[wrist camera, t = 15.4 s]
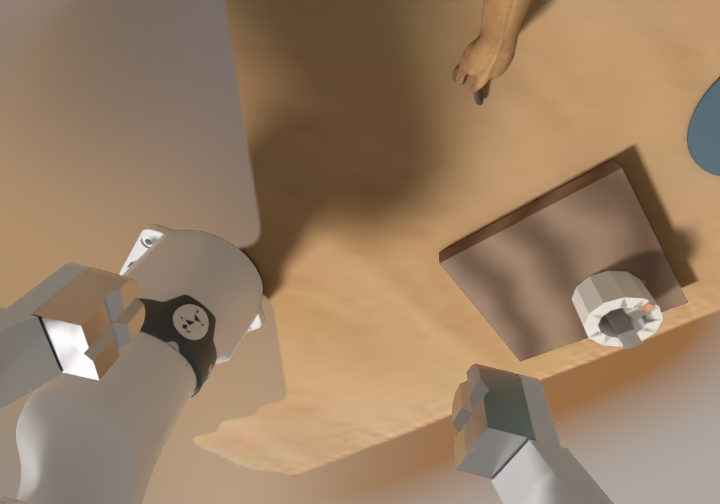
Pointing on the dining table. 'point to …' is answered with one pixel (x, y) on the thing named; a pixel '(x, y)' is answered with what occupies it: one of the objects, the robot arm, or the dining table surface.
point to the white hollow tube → (615, 305)
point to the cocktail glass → (706, 131)
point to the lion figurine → (492, 44)
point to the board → (561, 262)
